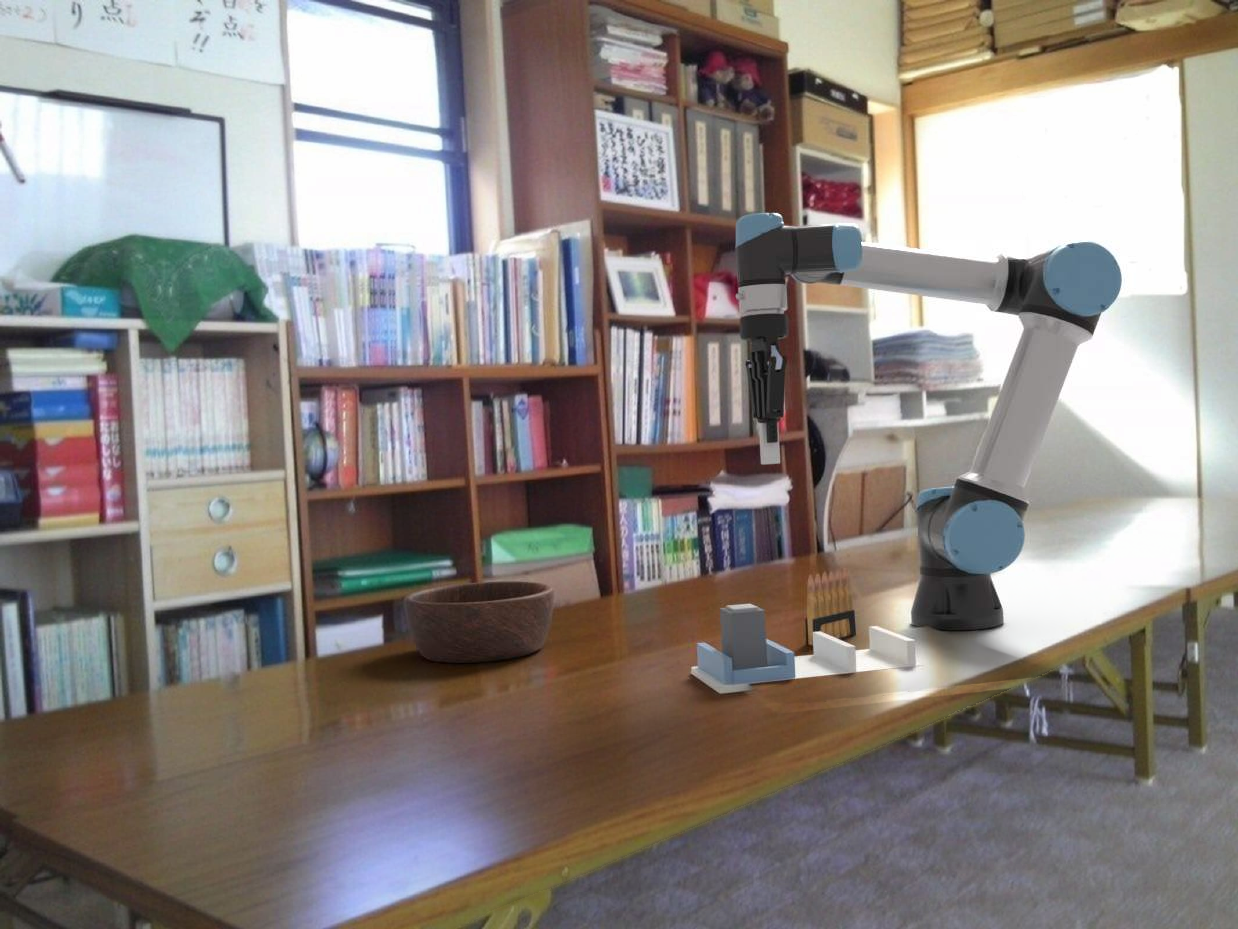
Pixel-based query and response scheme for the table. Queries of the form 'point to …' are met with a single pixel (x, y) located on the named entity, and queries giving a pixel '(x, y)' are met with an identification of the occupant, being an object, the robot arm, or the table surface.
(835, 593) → the ammunition clip
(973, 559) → the robot arm
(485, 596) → the wooden bowl
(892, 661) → the slotted holder tray
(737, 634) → the plug
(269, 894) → the table surface
